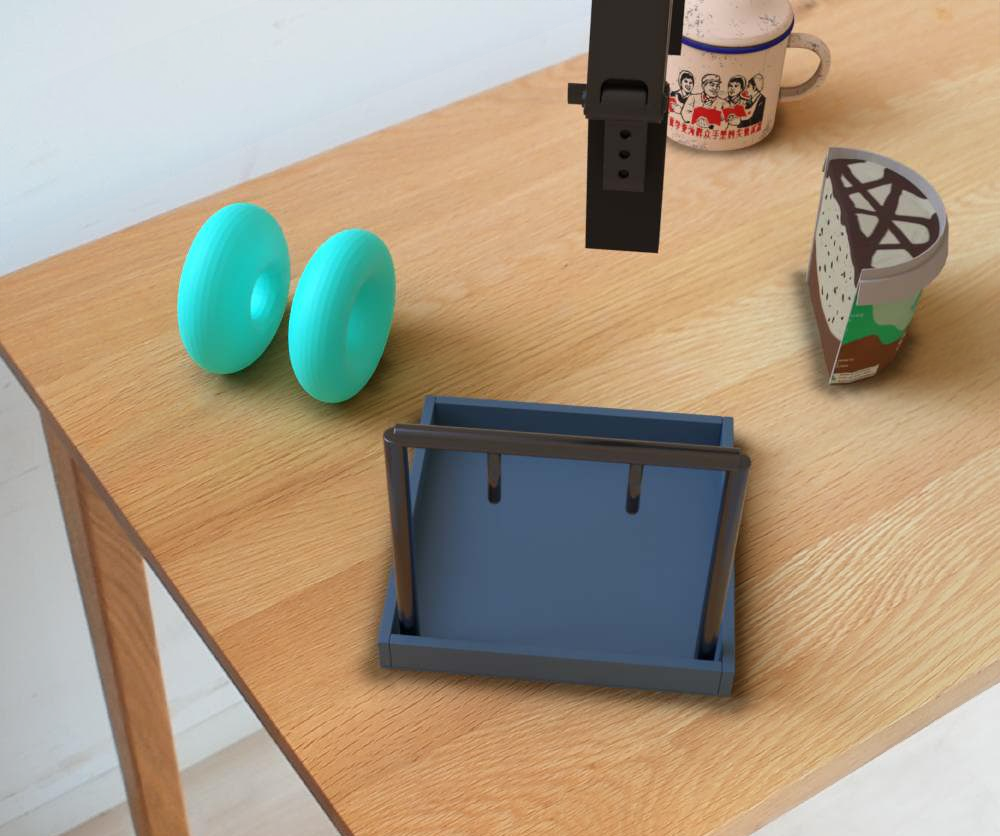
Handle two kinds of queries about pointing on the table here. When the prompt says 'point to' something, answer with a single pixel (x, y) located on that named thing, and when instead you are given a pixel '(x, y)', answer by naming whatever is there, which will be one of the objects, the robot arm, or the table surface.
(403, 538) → the rack frame
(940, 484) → the table surface
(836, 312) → the food container
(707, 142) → the teacup with lid
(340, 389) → the donuts
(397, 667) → the drip tray
